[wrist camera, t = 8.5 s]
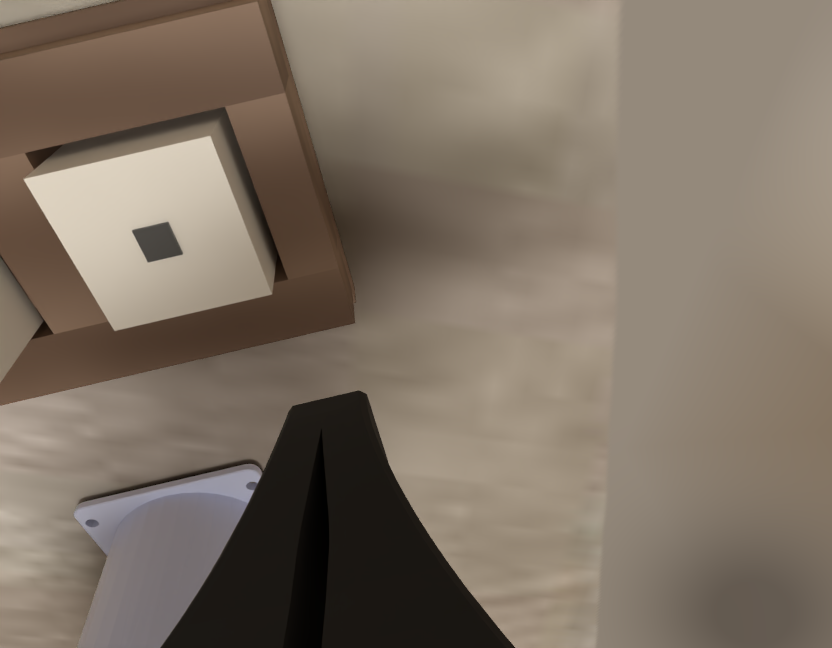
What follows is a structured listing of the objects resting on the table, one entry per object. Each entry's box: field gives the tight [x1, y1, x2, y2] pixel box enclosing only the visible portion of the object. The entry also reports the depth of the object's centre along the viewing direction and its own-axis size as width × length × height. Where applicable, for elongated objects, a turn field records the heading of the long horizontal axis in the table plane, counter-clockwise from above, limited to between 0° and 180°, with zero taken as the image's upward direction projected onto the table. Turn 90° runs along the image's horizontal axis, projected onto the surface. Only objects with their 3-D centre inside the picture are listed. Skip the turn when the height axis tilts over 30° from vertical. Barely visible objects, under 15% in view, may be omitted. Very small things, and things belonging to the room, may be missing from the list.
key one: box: [24, 107, 278, 331], centre depth 16 cm, size 4×4×3 cm
